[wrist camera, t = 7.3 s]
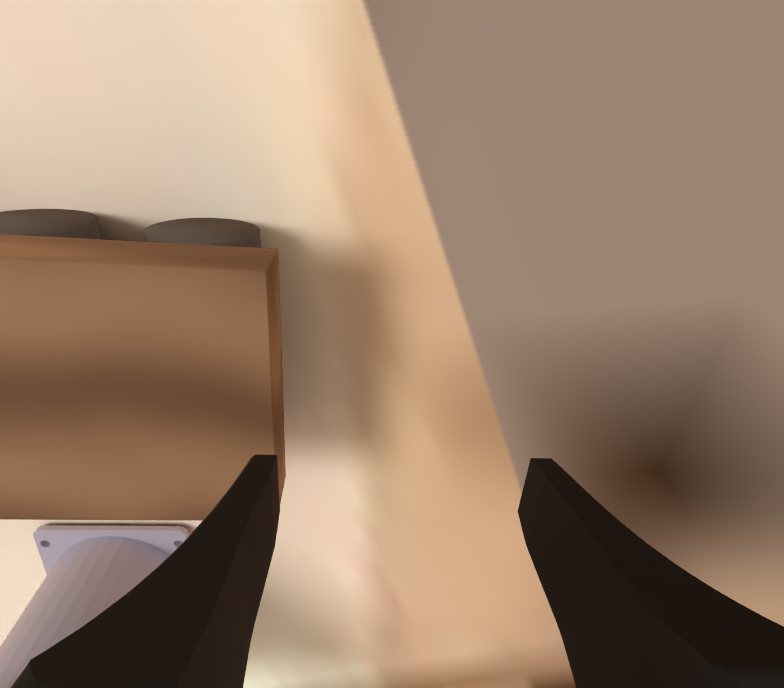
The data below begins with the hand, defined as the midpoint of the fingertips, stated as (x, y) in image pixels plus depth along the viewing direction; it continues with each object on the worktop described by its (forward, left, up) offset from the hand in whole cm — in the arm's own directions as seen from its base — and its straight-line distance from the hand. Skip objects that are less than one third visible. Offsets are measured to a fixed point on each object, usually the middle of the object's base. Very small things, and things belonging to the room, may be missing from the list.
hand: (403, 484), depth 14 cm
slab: (0, +11, -6) cm, 13 cm away
